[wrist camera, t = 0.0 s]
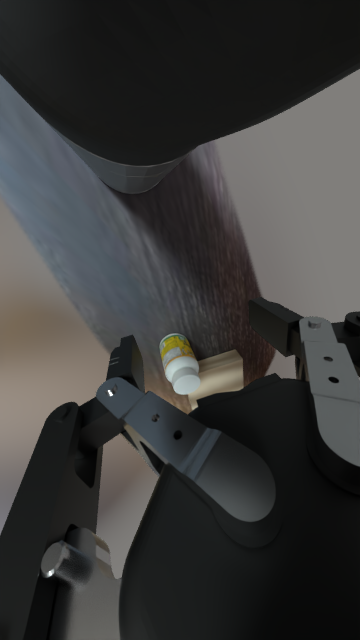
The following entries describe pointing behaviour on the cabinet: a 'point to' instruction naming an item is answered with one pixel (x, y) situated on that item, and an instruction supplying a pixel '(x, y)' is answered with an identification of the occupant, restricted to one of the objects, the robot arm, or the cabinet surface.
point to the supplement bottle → (180, 363)
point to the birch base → (218, 376)
